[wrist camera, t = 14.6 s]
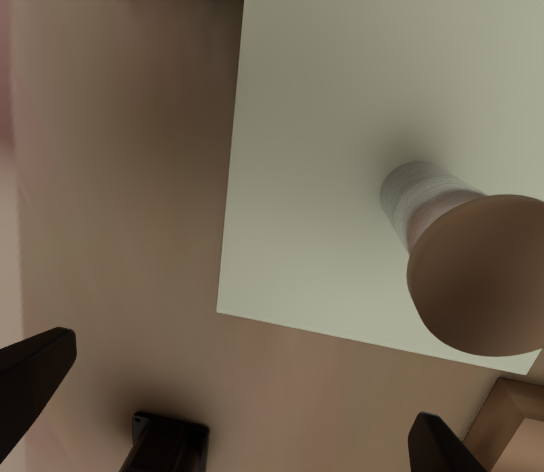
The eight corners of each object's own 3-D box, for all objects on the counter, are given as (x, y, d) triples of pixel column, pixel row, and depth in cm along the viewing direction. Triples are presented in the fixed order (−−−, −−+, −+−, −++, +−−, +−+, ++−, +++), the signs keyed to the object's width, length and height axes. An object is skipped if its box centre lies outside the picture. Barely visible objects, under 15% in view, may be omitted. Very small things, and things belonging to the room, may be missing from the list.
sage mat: (521, 369, 21) (525, 375, 21) (218, 307, 23) (216, 311, 22) (739, -5, 13) (754, -8, 13) (252, -63, 15) (250, -68, 14)
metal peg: (475, 157, 16) (649, 223, 8) (443, 241, 18) (555, 371, 10) (382, 143, 17) (448, 189, 8) (360, 226, 19) (394, 338, 10)
